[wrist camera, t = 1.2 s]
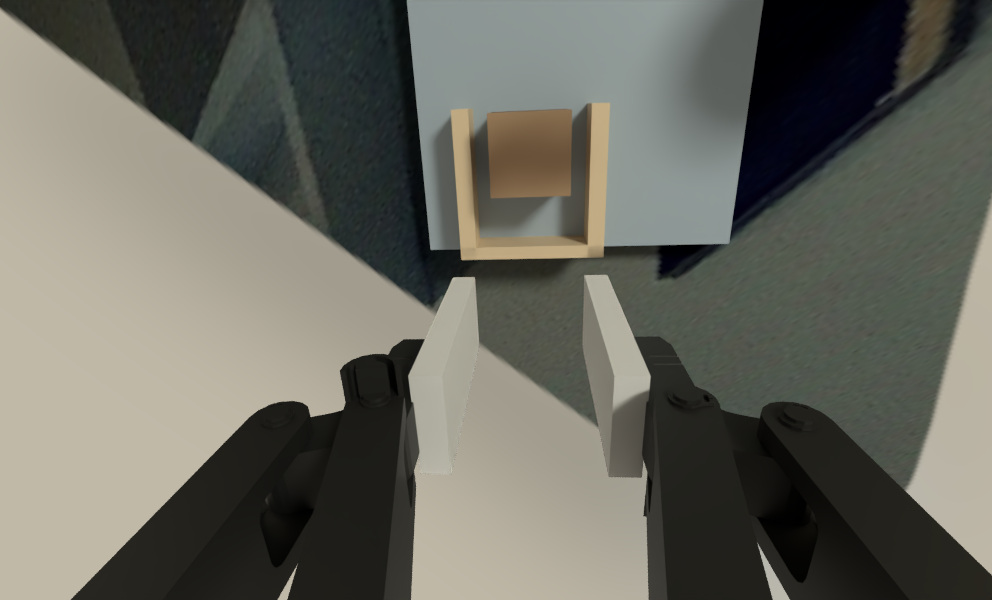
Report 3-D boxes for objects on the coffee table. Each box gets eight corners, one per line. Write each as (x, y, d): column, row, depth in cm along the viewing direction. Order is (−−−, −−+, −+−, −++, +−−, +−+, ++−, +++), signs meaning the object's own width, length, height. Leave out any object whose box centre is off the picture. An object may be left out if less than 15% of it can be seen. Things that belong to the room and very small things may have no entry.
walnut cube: (493, 112, 30) (486, 113, 26) (566, 108, 30) (572, 109, 26) (496, 185, 32) (490, 198, 28) (565, 183, 31) (570, 195, 27)
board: (395, -208, 26) (369, -266, 22) (782, -246, 25) (832, -317, 20) (436, 242, 36) (423, 260, 31) (718, 236, 34) (744, 254, 30)
